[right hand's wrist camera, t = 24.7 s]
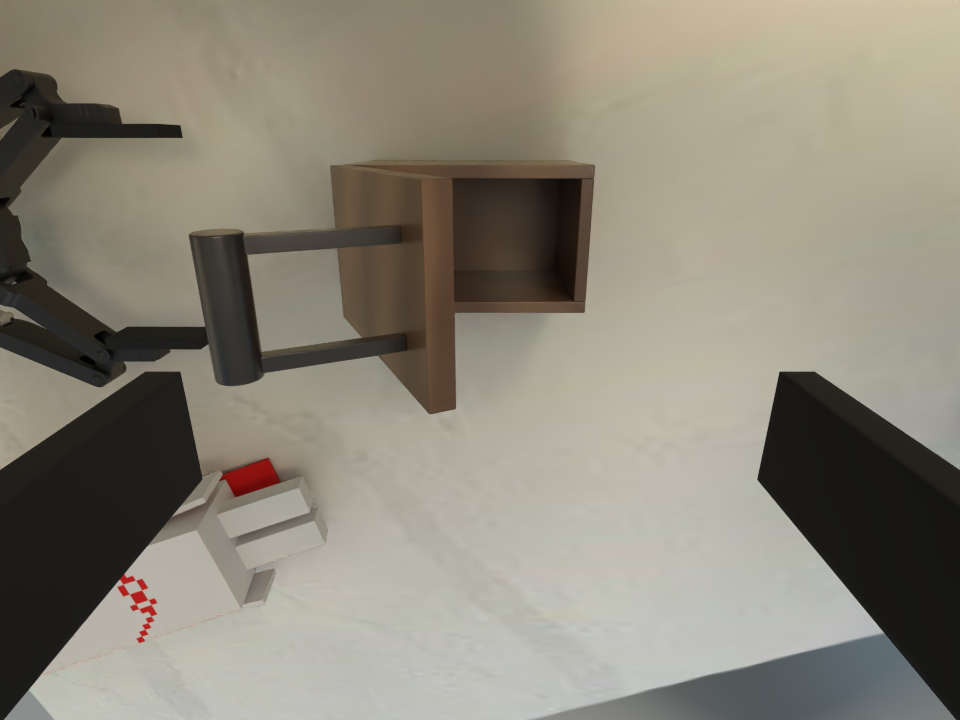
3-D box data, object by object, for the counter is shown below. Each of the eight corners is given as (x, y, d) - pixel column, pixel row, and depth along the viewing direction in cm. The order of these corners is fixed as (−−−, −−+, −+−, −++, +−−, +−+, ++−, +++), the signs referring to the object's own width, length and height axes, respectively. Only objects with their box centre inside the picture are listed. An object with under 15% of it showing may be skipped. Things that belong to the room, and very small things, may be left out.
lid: (453, 178, 21) (176, 184, 17) (456, 409, 24) (226, 456, 20) (350, 165, 34) (183, 167, 31) (362, 314, 38) (213, 332, 34)
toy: (330, 601, 48) (-9, 715, 48) (345, 513, 61) (77, 602, 60) (273, 486, 44) (-99, 608, 43) (301, 417, 57) (13, 510, 56)
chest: (569, 160, 45) (595, 165, 35) (562, 277, 48) (584, 313, 38) (373, 160, 45) (342, 165, 35) (380, 277, 48) (355, 312, 38)
